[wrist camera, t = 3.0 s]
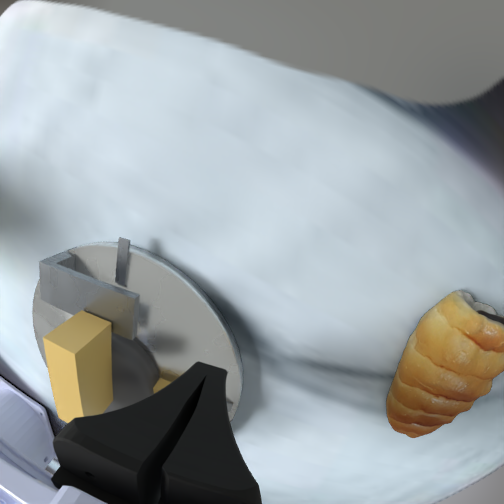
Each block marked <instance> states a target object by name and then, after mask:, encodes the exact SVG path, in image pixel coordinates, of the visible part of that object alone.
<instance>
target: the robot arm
mask: <svg viewBox="0 0 504 504" xmlns="http://www.w3.org/2000/svg"><path fill="white" fill-rule="evenodd" d="M227 374H228V372H227V370H226V369H223V368H219V367H216V366H213V365H209V364H206V363H203V362H199V361H198V362H195V363H194V364H193V365H192V366H191V367H190V368H189V369H188V370H187V371H186V372H184V373H183V374H182V375H181V376H180V377H178V378H177V379H176V380H174V381H173V382H171V383H170V384H169V385H167V386H166V387H164V388H162V389H161V390H159V391H158V392H156V393H154V394H153V395H151V396H149V397H147V398H145V399H143V400H141V401H139V402H137V403H134V404H132V405H129V406H127V407H124V408H121V409H118V410H114V411H111V412H107V413H103V414H98V415H92V416H85V417H76V418H74V419H73V420H71V421H70V422H69V423H68V424H67V425H66V426H65V427H64V428H63V429H62V430H61V431H60V432H59V434H58V435H57V436H56V437H55V438H54V435H53V432H52V429H51V425H50V422H49V419H48V416H47V412H46V410H45V408H44V407H43V406H41V405H40V404H38V403H37V402H35V401H34V400H32V399H31V398H29V397H28V396H27V395H25V394H24V393H22V392H21V391H20V390H18V389H17V388H15V387H14V386H13V385H11V384H10V383H9V382H7V381H6V380H5V379H3V378H2V377H1V376H0V504H262V501H261V494H260V489H259V485H258V483H257V482H256V480H255V479H254V477H253V476H252V474H251V472H250V471H249V469H248V467H247V465H246V463H245V462H244V460H243V457H242V455H241V453H240V451H239V448H238V446H237V444H236V441H235V438H234V435H233V432H232V428H231V424H230V420H229V415H228V409H227V401H226V378H227ZM53 458H56V459H57V460H58V461H59V463H60V467H59V469H58V470H57V471H56V473H55V474H54V475H52V474H51V473H49V472H48V471H46V470H45V468H46V467H47V465H48V464H49V463H50V462H51V460H52V459H53Z"/></svg>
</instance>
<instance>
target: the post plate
mask: <svg viewBox="0 0 504 504" xmlns="http://www.w3.org/2000/svg"><path fill="white" fill-rule="evenodd" d="M39 267H40V279H39V281H38V284H37V287H36V290H35V294H34V299H33V326H34V331H35V337H36V340H37V344H38V347H39V350H40V352H41V355H42V358H43V360H44V362H45V364H46V366H47V360H46V354H45V348H44V341H43V337H44V336H45V335H47V334H48V333H50V332H51V331H52V330H54V329H55V328H57V327H58V326H59V325H61V324H62V323H64V322H65V321H67V320H68V319H69V318H71V317H72V316H74V315H75V314H77V313H78V312H80V311H81V310H83V311H85V312H87V313H89V314H92V315H94V316H97V317H99V318H101V319H104V320H106V321H109V322H111V323H112V324H111V332H113V333H115V334H118V335H120V336H123V337H125V338H128V339H130V340H134V341H135V342H136V343H137V344H139V345H140V346H141V347H142V348H143V349H144V351H145V352H146V353H147V354H148V355H149V357H150V358H151V360H152V361H153V363H154V365H155V366H156V369H157V371H158V374H159V377H160V378H162V379H164V380H167V381H170V382H173V381H174V380H176V379H177V378H178V377H180V376H181V375H182V374H183V373H184V372H186V371H187V370H188V369H189V368H190V367H191V366H192V365H193V364H194V363H195V362H198V361H199V362H203V363H206V364H209V365H213V366H216V367H219V368H223V369H226V370H227V372H228V374H227V378H226V401H227V409H228V415H229V420H230V422H231V421H232V419H233V417H234V415H235V412H236V410H237V408H238V404H239V400H240V396H241V391H242V386H243V368H242V361H241V356H240V353H239V349H238V346H237V343H236V340H235V338H234V336H233V334H232V331H231V329H230V327H229V325H228V324H227V322H226V320H225V319H224V317H223V315H222V314H221V312H220V311H219V309H218V308H217V307H216V305H215V304H214V303H213V301H212V300H211V299H210V298H209V296H208V295H207V294H206V293H205V292H204V291H203V290H202V289H201V288H200V287H199V286H198V285H197V284H196V283H195V282H194V281H193V280H192V279H190V278H189V277H188V276H187V275H186V274H185V273H183V272H182V271H181V270H180V269H178V268H177V267H175V266H174V265H172V264H171V263H169V262H168V261H166V260H165V259H163V258H161V257H159V256H157V255H155V254H153V253H151V252H149V251H146V250H143V249H141V248H138V247H135V246H132V245H130V240H128V239H124V238H121V237H120V238H119V241H118V242H96V243H89V244H86V245H82V246H79V247H75V248H72V249H70V250H67V251H64V252H62V253H59V254H57V255H54V256H52V257H49V258H47V259H44V260H42V261H39ZM47 368H48V366H47Z"/></svg>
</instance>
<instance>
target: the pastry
mask: <svg viewBox="0 0 504 504" xmlns="http://www.w3.org/2000/svg"><path fill="white" fill-rule="evenodd" d="M503 371H504V316H501V315H497V314H496V312H495V310H494V309H493V308H492V307H491V306H489V305H487V304H482V303H480V302H474V300H473V298H472V296H471V295H470V294H469V293H465V292H463V291H462V290H459V291H455V292H452V293H450V294H449V295H447V296H446V297H445V298H444V299H442V300H441V301H440V302H439V303H438V304H436V305H435V306H434V307H432V308H431V309H430V310H429V311H428V312H426V313H425V314H424V316H423V317H422V318H421V319H420V321H419V323H418V325H417V327H416V329H415V331H414V332H413V334H412V335H410V337H409V340H408V343H407V346H406V348H405V349H404V352H403V355H402V358H401V360H400V362H399V364H398V368H397V371H396V374H395V377H394V379H393V382H392V384H391V387H390V390H389V393H388V396H387V400H386V409H387V417H388V420H389V423H390V425H391V426H392V428H393V429H394V430H395V431H397V432H399V433H403V434H406V435H407V436H409V437H411V438H416V437H419V436H422V435H426V434H429V433H432V432H433V431H435V430H436V429H438V428H440V427H441V426H442V425H444V424H448V423H451V422H452V421H453V419H454V418H455V417H456V416H457V415H458V414H459V413H461V412H464V411H468V410H469V409H470V408H471V407H472V405H473V403H474V401H475V400H476V399H477V398H479V397H480V396H484V395H486V394H488V393H489V392H490V390H491V387H492V380H493V378H494V377H496V376H497V375H499V374H500V373H502V372H503Z"/></svg>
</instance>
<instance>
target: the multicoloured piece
mask: <svg viewBox="0 0 504 504" xmlns="http://www.w3.org/2000/svg"><path fill="white" fill-rule="evenodd" d="M111 324H112V323H111V322H109V321H106V320H104V319H101V318H99V317H97V316H94V315H92V314H89V313H87V312H85V311H83V310H81V311H80V312H78V313H77V314H75V315H74V316H72V317H71V318H69V319H68V320H67V321H65V322H64V323H62V324H61V325H59V326H58V327H57V328H55V329H54V330H52V331H51V332H50V333H48V334H47V335H45V336H44V337H43V341H44V348H45V354H46V360H47V366H48V372H49V377H50V382H51V387H52V391H53V396H54V400H55V404H56V408H57V412H58V416H59V418H60V419H62V420H63V421H65V422H67V423H69V422H70V421H71V420H73V419H74V418H76V417H85V416H92V415H98V414H103V413H107V412H111V411H114V410H118V409H121V408H124V407H127V406H129V405H132V404H134V403H137V402H139V401H141V400H143V399H145V398H147V397H149V396H151V395H153V394H154V393H156V392H158V391H159V390H161V389H162V388H164V387H166V386H167V385H169V384H170V383H171V382H170V381H167V380H164V379H162V378H160V377H159V374H158V371H157V369H156V366H155V365H154V363H153V361H152V360H151V358H150V357H149V355H148V354H147V353H146V352H145V351H144V349H143V348H142V347H141V346H140V345H139V344H137V343H136V342H135V341H134V340H130V339H128V338H125V337H123V336H120V335H118V334H115V333H113V332H111Z"/></svg>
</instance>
